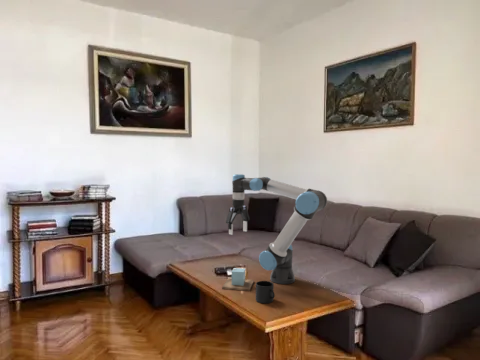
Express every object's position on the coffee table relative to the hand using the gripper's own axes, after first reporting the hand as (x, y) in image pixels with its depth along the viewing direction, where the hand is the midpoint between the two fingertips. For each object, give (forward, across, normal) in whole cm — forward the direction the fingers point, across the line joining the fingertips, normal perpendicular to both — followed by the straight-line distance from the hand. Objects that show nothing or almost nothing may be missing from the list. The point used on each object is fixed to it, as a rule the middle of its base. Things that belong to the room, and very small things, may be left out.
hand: (238, 233), depth 233 cm
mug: (+29, +18, +36) cm, 50 cm away
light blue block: (+28, +10, +9) cm, 31 cm away
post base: (+29, +10, +9) cm, 32 cm away
